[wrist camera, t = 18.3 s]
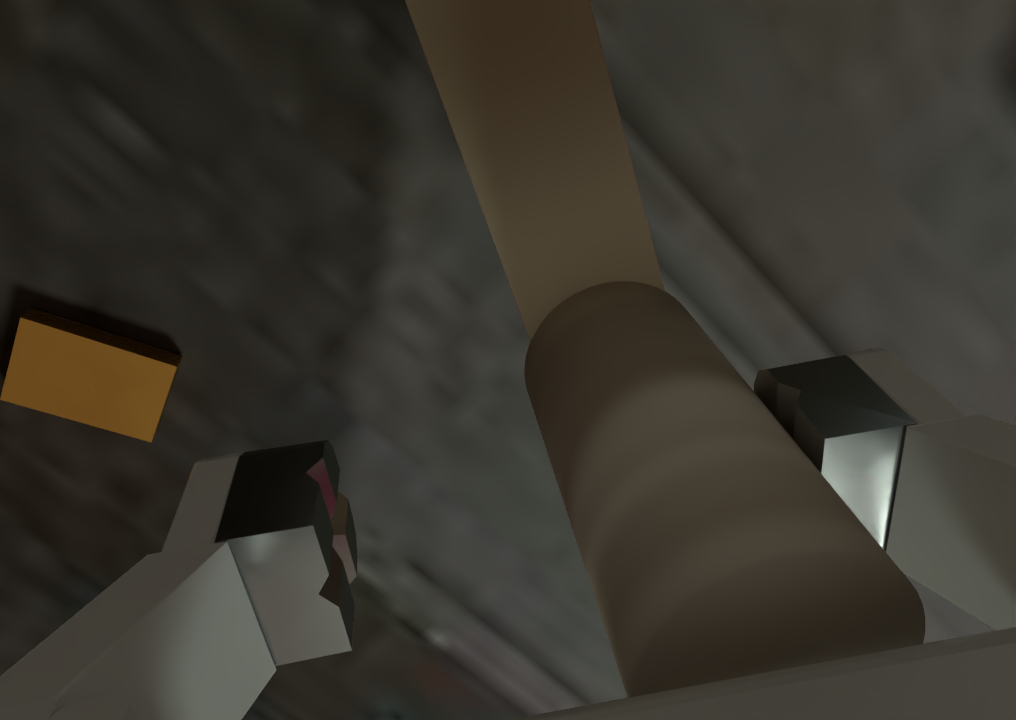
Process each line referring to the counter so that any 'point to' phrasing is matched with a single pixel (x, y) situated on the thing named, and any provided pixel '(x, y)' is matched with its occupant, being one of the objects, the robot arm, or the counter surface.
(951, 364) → the counter surface
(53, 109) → the counter surface
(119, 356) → the crank base
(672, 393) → the crank
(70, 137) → the counter surface
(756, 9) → the counter surface
